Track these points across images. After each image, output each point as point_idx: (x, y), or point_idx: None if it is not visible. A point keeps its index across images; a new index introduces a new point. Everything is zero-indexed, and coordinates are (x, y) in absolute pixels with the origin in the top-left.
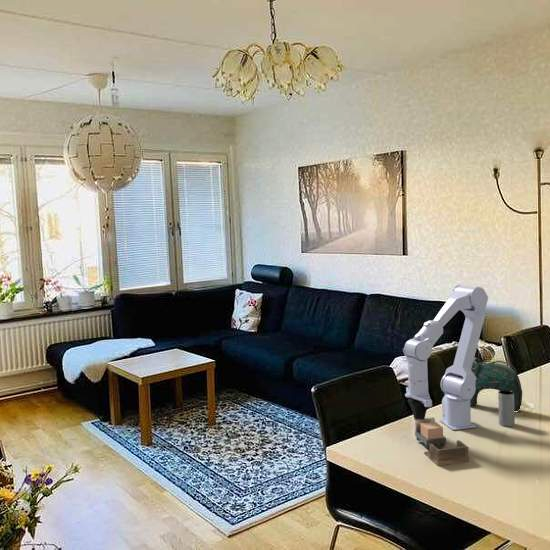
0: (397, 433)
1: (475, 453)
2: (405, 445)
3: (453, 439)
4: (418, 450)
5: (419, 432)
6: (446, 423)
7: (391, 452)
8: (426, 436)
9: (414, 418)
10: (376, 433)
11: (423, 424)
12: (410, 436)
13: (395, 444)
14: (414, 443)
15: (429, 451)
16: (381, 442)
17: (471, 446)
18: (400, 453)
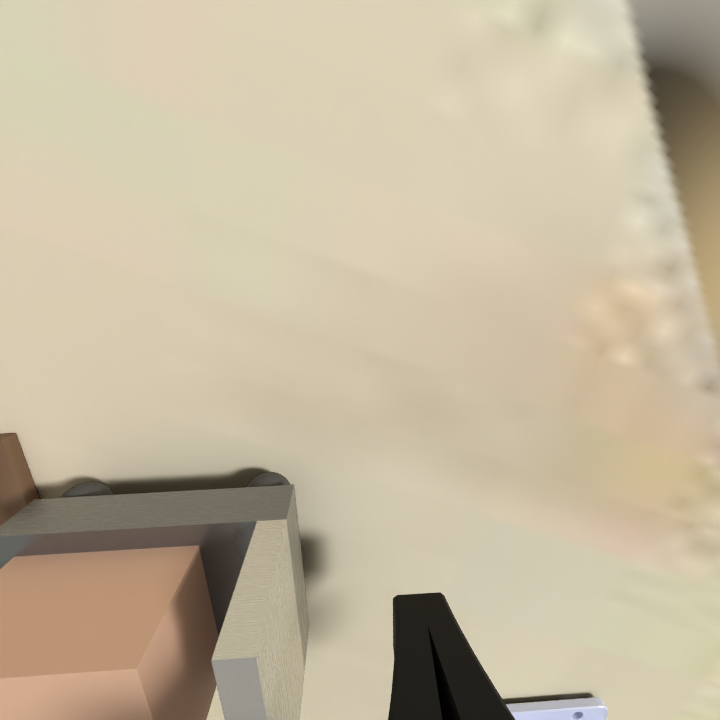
0: (506, 376)
1: None
2: (218, 350)
3: None
4: (92, 414)
5: (226, 542)
6: (515, 718)
7: (53, 157)
8: (37, 570)
9: (453, 637)
10: (591, 180)
11: (81, 689)
12: (404, 451)
13: (258, 271)
14: (249, 433)
15: (11, 481)
16: (340, 145)
17: None
18: (25, 240)
